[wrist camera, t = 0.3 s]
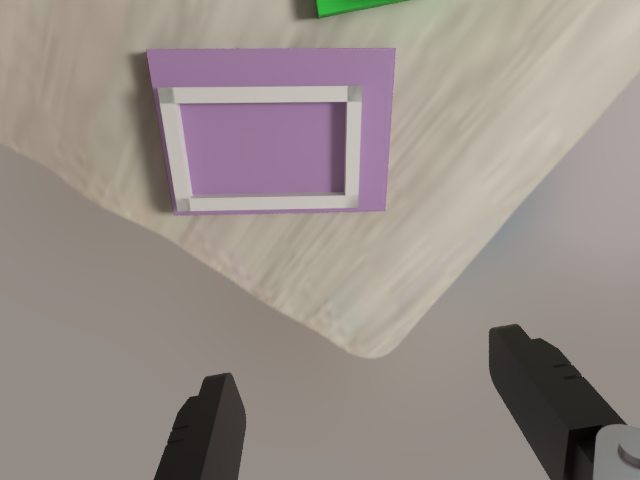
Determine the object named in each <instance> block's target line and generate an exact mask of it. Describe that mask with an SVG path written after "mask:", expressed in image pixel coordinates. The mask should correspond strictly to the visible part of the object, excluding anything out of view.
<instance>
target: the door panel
mask: <svg viewBox="0 0 640 480" xmlns="http://www.w3.org/2000/svg"><path fill="white" fill-rule="evenodd" d="M146 52H147V58H148V64H149V70H150V76H151V82H152V88H153V94H154V99H155V105H156V111H157V117H158V123H159V129H160V135H161V141H162V147H163V153H164V159H165V165H166V171H167V177H168V183H169V189H170V195H171V200H172V206H173V212H174V215H220V214H269V213H319V212H368V211H385V207H386V191H387V176H388V160H389V145H390V129H391V114H392V98H393V83H394V68H395V52H396V48H313V49H146Z"/></svg>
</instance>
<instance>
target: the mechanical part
mask: <svg viewBox="0 0 640 480" xmlns="http://www.w3.org/2000/svg"><path fill="white" fill-rule="evenodd" d="M315 1H316V7H317V14H318V18H323V17H328V16H333V15H338V14H343V13H348V12H353V11H358V10H363V9H368V8H373V7H378V6H383V5H388V4H393V3H398V2H403V1H408V0H315Z"/></svg>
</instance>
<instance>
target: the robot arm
mask: <svg viewBox="0 0 640 480" xmlns="http://www.w3.org/2000/svg"><path fill="white" fill-rule="evenodd" d="M489 370H490V375H491V378H492V381H493V384H494V386H495V387H496V389H497V391H498V393H499V394H500V396H501V398H502V399H503V401H504V403H505V404H506V406H507V408H508V409H509V411H510V413H511V414H512V416H513V418H514V419H515V421H516V423H517V424H518V426H519V428H520V429H521V431H522V433H523V434H524V436H525V438H526V439H527V441H528V443H529V444H530V446H531V448H532V449H533V451H534V453H535V454H536V456H537V458H538V459H539V461H540V463H541V464H542V466H543V468H544V469H545V471H546V473H547V474H548V476H549V478H550V479H551V480H640V429H639V428H636V427H633V426H629V425H627V424H626V423H625V422H624V421H623V420H622V419H621V418H620V416H618V414H617V413H616V412H615V411H614V410H613V409H612V408H611V407H610V406H609V404H608V403H607V402H606V401H605V400H604V399H603V398H602V397H601V396H600V394H599V393H598V392H597V391H596V390H595V389H594V388H593V387H592V386H591V384H590V383H589V382H588V381H587V380H586V379H585V378H584V377H582V376H581V374H580V373H579V371H578V370H577V369H576V368H575V367H574V366H573V365H571V362H570V361H569V360H568V359H567V358H566V357H565V356H564V355H563V353H562V352H561V351H560V350H559V349H558V348H556V347H554V346H553V345H551V344H549V343H548V342H546V341H544V340H543V339H541V338H538V339H532V340H531V339H530V338H529V336H528V335H527V334H526V333H525V332H524V330H523V329H522V328H521V327H520V326H519V325H517V324H512V325H507V326H500V327H495V328H491V329H490V331H489ZM172 429H173V430H172V432H171V433H170V436H169V439H168V441H167V442H168V445H167V446H166V447H165V450H164V453H163V455H162V458H161V461H160V464H159V467H158V469H157V472H156V475H155V478H154V480H238V474H239V467H240V461H241V454H242V449H243V442H244V436H245V430H246V414H245V409H244V406H243V403H242V400H241V397H240V395H239V392H238V389H237V387H236V384H235V381H234V378H233V376H232V374H231V373H223V374H218V375H212V376H207V377H205V378H204V380H203V383H202V386H201V389H200V392H199V395H198V396H193V397H189V399H188V400H187V401H186V403H185V404H184V405H183V406H182V408H181V409H180V410H179V412H178V414H177V417H176V420H175V422H174V425H173V428H172Z"/></svg>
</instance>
